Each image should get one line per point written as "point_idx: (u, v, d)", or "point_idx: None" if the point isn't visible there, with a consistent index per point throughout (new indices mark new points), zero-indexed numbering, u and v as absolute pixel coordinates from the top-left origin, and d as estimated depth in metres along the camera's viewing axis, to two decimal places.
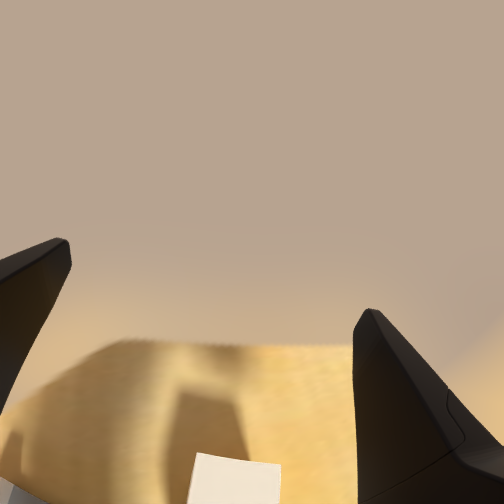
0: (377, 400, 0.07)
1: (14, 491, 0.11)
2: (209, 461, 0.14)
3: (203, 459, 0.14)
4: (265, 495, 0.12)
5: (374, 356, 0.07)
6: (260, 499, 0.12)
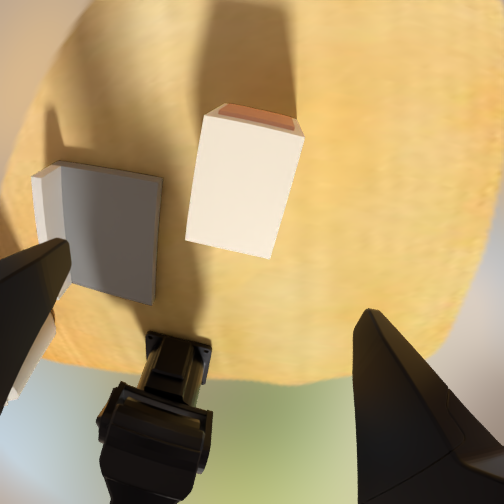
0: (377, 400, 0.07)
1: (63, 172, 0.20)
2: (218, 126, 0.13)
3: (211, 124, 0.13)
4: (277, 174, 0.14)
5: (374, 356, 0.07)
6: (271, 177, 0.14)
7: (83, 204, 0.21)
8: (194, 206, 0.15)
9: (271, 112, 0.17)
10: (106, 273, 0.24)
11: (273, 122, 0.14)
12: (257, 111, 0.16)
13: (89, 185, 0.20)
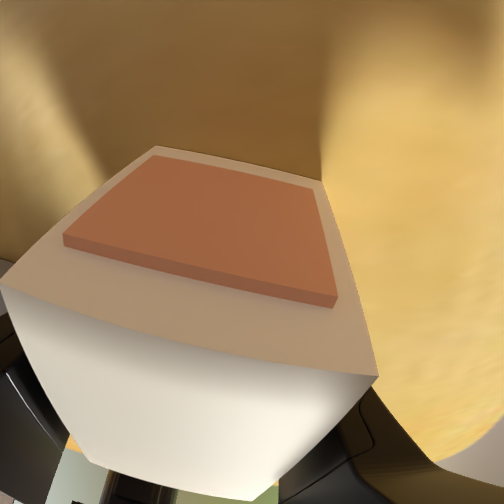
0: None
1: None
2: (46, 324, 0.03)
3: (26, 313, 0.03)
4: (266, 441, 0.04)
5: None
6: (248, 445, 0.04)
7: None
8: (80, 440, 0.05)
9: (260, 179, 0.07)
10: None
11: (257, 281, 0.04)
12: (217, 188, 0.06)
13: None
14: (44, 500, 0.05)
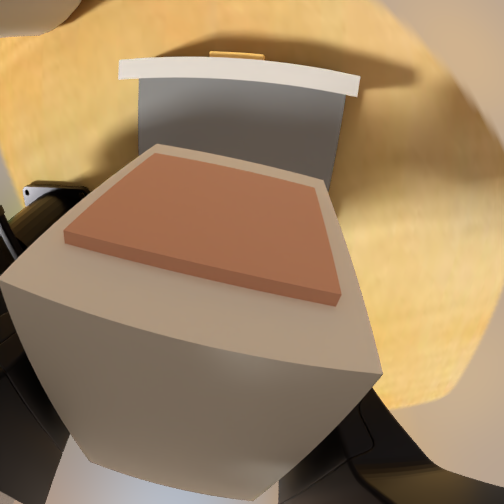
0: None
1: (336, 95, 0.14)
2: (46, 322, 0.03)
3: (26, 311, 0.03)
4: (269, 441, 0.04)
5: None
6: (250, 444, 0.04)
7: (287, 121, 0.16)
8: (81, 439, 0.05)
9: (262, 177, 0.07)
10: (175, 144, 0.17)
11: (260, 279, 0.04)
12: (218, 186, 0.06)
13: (317, 136, 0.16)
14: (44, 500, 0.05)
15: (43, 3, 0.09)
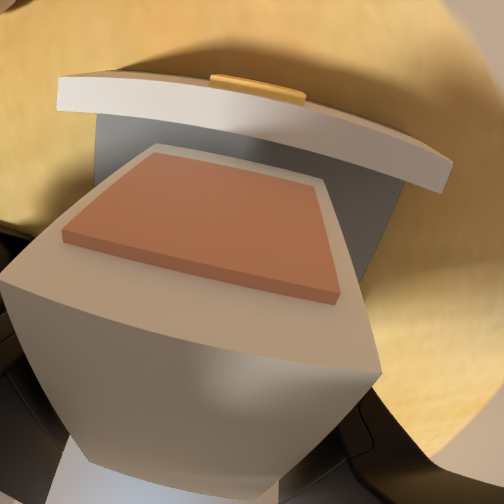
0: None
1: None
2: (44, 320, 0.03)
3: (24, 310, 0.03)
4: (268, 441, 0.04)
5: None
6: (250, 445, 0.04)
7: None
8: (80, 439, 0.05)
9: (261, 176, 0.07)
10: None
11: (258, 277, 0.04)
12: (217, 185, 0.06)
13: (356, 224, 0.11)
14: (44, 500, 0.05)
15: None
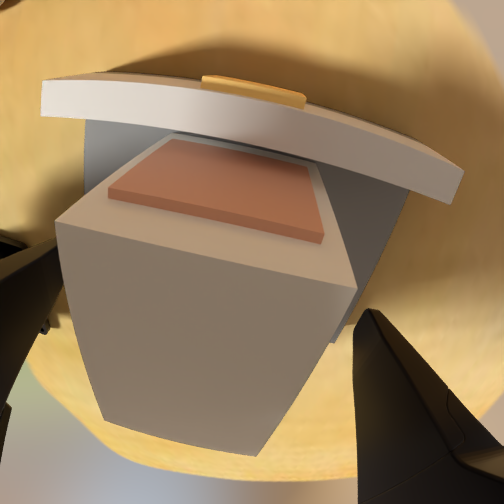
0: (377, 400, 0.07)
1: None
2: (94, 253, 0.04)
3: (76, 246, 0.04)
4: (271, 365, 0.05)
5: (374, 356, 0.07)
6: (254, 371, 0.05)
7: None
8: (100, 389, 0.06)
9: (262, 158, 0.08)
10: None
11: (261, 220, 0.05)
12: (227, 162, 0.07)
13: (358, 233, 0.10)
14: None
15: None
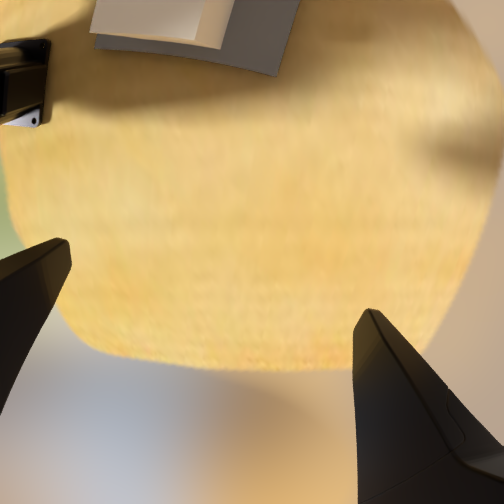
0: (377, 400, 0.07)
1: None
2: None
3: None
4: None
5: (374, 356, 0.07)
6: None
7: None
8: None
9: None
10: None
11: None
12: None
13: None
14: None
15: None
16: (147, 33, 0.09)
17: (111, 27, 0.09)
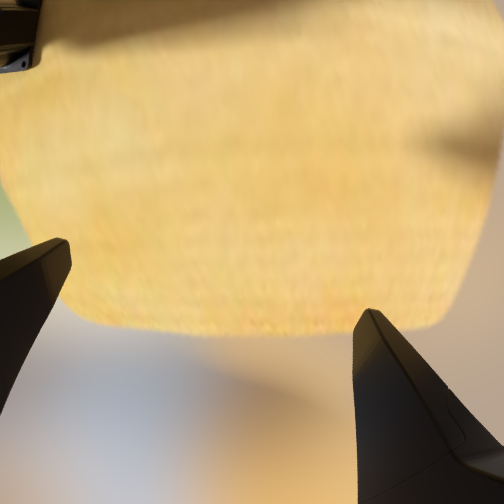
0: (377, 400, 0.07)
1: None
2: None
3: None
4: None
5: (374, 356, 0.07)
6: None
7: None
8: None
9: None
10: None
11: None
12: None
13: None
14: None
15: None
16: None
17: None
